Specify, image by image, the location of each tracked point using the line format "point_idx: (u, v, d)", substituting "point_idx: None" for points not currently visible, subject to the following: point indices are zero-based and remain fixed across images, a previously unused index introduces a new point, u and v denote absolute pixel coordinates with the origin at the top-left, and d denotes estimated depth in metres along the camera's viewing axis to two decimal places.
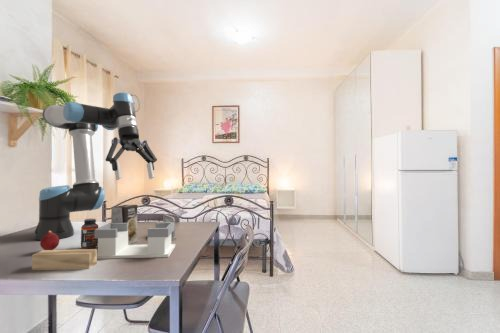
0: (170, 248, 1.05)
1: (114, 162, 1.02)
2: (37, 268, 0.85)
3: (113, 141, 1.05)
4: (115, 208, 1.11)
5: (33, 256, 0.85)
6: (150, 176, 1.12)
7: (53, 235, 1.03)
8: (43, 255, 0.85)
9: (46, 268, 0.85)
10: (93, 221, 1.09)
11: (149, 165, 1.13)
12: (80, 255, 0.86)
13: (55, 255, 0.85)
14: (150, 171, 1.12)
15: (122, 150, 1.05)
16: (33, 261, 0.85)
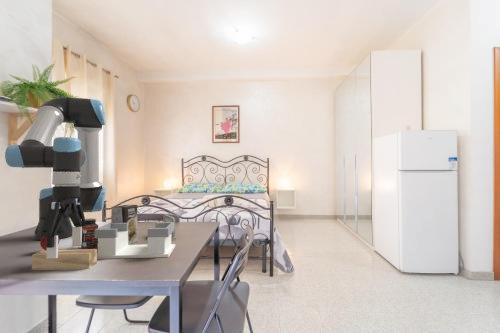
0: (170, 248, 1.05)
1: (52, 237, 0.80)
2: (37, 268, 0.85)
3: (54, 207, 0.81)
4: (115, 208, 1.11)
5: (33, 256, 0.85)
6: (76, 244, 0.94)
7: None
8: (43, 255, 0.85)
9: (46, 268, 0.85)
10: (93, 221, 1.09)
11: (78, 230, 0.94)
12: (80, 255, 0.86)
13: None
14: (78, 238, 0.94)
15: (62, 219, 0.84)
16: (33, 261, 0.85)
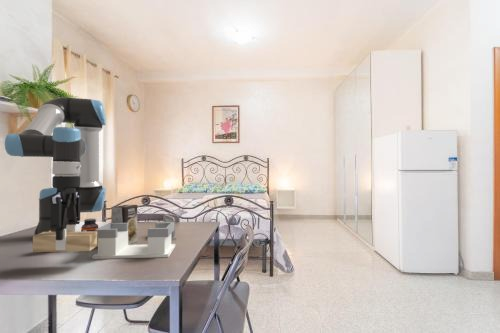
0: (170, 248, 1.05)
1: (61, 230, 0.85)
2: (38, 249, 0.85)
3: (55, 202, 0.82)
4: (115, 208, 1.11)
5: (34, 237, 0.85)
6: None
7: None
8: (44, 236, 0.86)
9: (47, 249, 0.86)
10: (93, 221, 1.09)
11: (72, 228, 0.91)
12: (80, 237, 0.86)
13: None
14: None
15: (66, 210, 0.86)
16: (34, 242, 0.85)
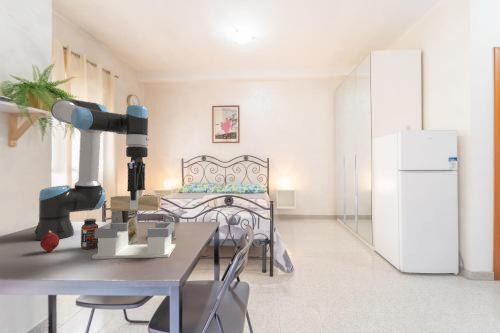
0: (170, 248, 1.05)
1: (135, 192, 1.00)
2: (115, 208, 1.00)
3: (132, 167, 0.97)
4: None
5: (111, 198, 1.00)
6: None
7: (53, 235, 1.03)
8: (119, 198, 1.00)
9: (122, 209, 1.00)
10: (93, 221, 1.09)
11: (140, 193, 1.06)
12: (150, 198, 1.01)
13: (129, 198, 1.01)
14: None
15: (138, 176, 1.01)
16: (111, 202, 1.00)
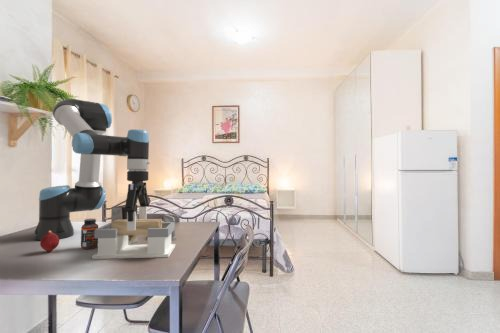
0: (170, 248, 1.05)
1: (132, 213, 0.96)
2: None
3: (132, 188, 0.97)
4: (115, 208, 1.11)
5: (112, 223, 1.00)
6: None
7: (53, 235, 1.03)
8: (120, 222, 1.01)
9: (123, 233, 1.01)
10: (93, 221, 1.09)
11: (144, 209, 1.10)
12: (151, 222, 1.02)
13: None
14: (143, 216, 1.10)
15: (137, 198, 0.99)
16: (112, 227, 1.00)
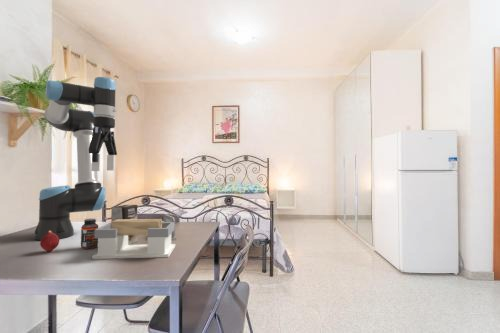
0: (170, 248, 1.05)
1: (96, 154, 1.01)
2: None
3: (97, 131, 1.02)
4: (115, 208, 1.11)
5: (112, 223, 1.00)
6: (110, 168, 1.15)
7: (53, 235, 1.03)
8: (120, 222, 1.01)
9: (123, 233, 1.01)
10: (93, 221, 1.09)
11: (111, 157, 1.15)
12: (151, 222, 1.02)
13: (130, 222, 1.01)
14: (111, 164, 1.15)
15: (102, 142, 1.04)
16: (112, 227, 1.00)
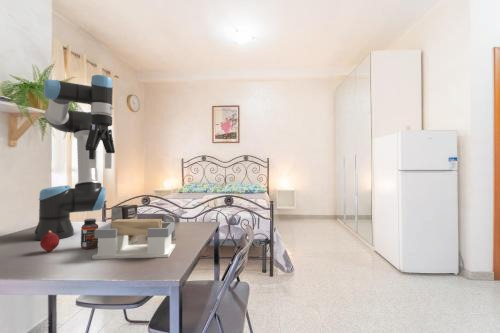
0: (170, 248, 1.05)
1: (93, 151, 1.01)
2: None
3: (94, 128, 1.02)
4: (115, 208, 1.11)
5: (112, 223, 1.00)
6: (107, 166, 1.15)
7: (53, 235, 1.03)
8: (120, 222, 1.01)
9: (123, 233, 1.01)
10: (93, 221, 1.09)
11: (109, 155, 1.15)
12: (151, 222, 1.02)
13: (130, 222, 1.01)
14: (109, 162, 1.15)
15: (99, 139, 1.04)
16: (112, 227, 1.00)
